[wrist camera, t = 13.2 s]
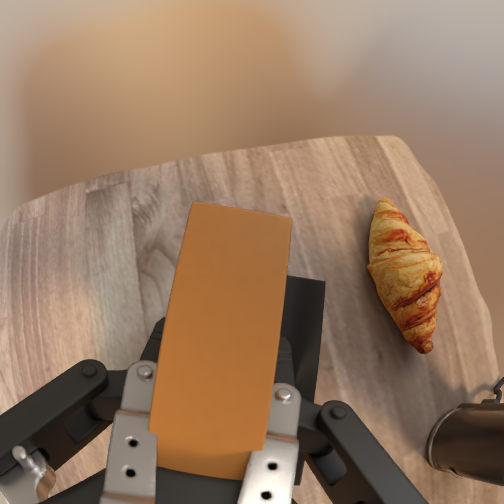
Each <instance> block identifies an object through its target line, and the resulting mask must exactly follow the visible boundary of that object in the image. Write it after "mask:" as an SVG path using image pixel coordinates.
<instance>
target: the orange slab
mask: <svg viewBox="0 0 504 504" xmlns="http://www.w3.org/2000/svg"><path fill="white" fill-rule="evenodd" d="M291 228H292V218H291V217H286V216H280V215H275V214H269V213H263V212H257V211H252V210H246V209H240V208H233V207H227V206H221V205H215V204H208V203H202V202H195V201H194V202H193V203H192V205H191V209H190V213H189V217H188V221H187V225H186V229H185V233H184V237H183V241H182V245H181V249H180V254H179V258H178V262H177V267H176V271H175V276H174V280H173V285H172V289H171V294H170V299H169V304H168V309H167V314H166V319H165V324H164V329H163V335H162V340H161V345H160V351H159V357H158V363H157V369H156V375H155V381H154V388H153V394H152V401H151V408H150V415H149V423H148V432H150V433H154V434H158V467H163V468H167V469H172V470H176V471H181V472H187V473H192V474H198V475H204V476H210V477H217V478H225V479H234V480H243V477H244V473H245V470H246V467H247V464H248V461H249V457H250V454H251V451H252V450H254V451H262V450H263V449H264V444H265V438H266V431H267V425H268V418H269V412H270V405H271V398H272V391H273V384H274V377H275V369H276V362H277V354H278V346H279V339H280V330H281V322H282V314H283V305H284V296H285V287H286V278H287V269H288V259H289V249H290V239H291Z"/></svg>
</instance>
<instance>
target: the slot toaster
mask: <svg viewBox="0 0 504 504" xmlns="http://www.w3.org/2000/svg"><path fill="white" fill-rule="evenodd" d="M324 297H325V281H321V280H314V279H308V278H301V277H295V276H289V275H287V278H286V287H285V296H284V305H283V314H282V322H281V330H280V337H285V338H286V339H287V341H288V342H289V344H290V345H291V353H292V354H291V355H292V362H293V371H294V381H295V388H296V389H297V390H298V391H299V393H300V395H301V397H302V398H304V399H305V400H307V401H309V402H312V403H314V397H315V389H316V381H317V372H318V363H319V354H320V344H321V334H322V323H323V310H324ZM304 461H305V459H304V458H303V456H302V454H301V452H300V451H298V459H297V466H296V473H295V479H294V485H300V483H301V478H302V472H303V467H304Z"/></svg>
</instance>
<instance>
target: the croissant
mask: <svg viewBox="0 0 504 504" xmlns="http://www.w3.org/2000/svg"><path fill="white" fill-rule="evenodd" d="M369 261H370V264H368V265H367V269H368V270H369V271H370V274H371V276H372V278H373V280H374V281H375V283H376V289H377V293H378V295H379V297H380V299H381V301H382V303H383V304H384V306H385V308H386V309H387V310H388V311H389V313H390V314H391V316H392V318H393V320H394V321H395V322H396V324H397V326H398V328H399V329H400V330H401V331H402V335H403V336H404V338H405V340H406V341H407V342H408V343H409V344H410V345H412V346H413V347H414V348H415V349H416V350H417V351H418V352H419V353H421V354H427V353H428V352H430V351H431V350H432V349H433V343H432V337H431V334H432V333H433V332H434V330H435V326H436V321H437V319H436V311H437V303H438V300H439V297H440V295H442V294H441V287H440V280H439V279H440V278H441V275H442V270H443V266H442V262H441V260H440V258H438V257H437V256H436V254H434V253H431V252H430V249H429V247H428V244H427V242H426V241H425V240H424V238H423V237H422V236H421V235H420V234H419V233H417V232H416V231H414V230H413V229H412V228H411V227H410V225H409V223H408V221H407V219H406V217H405V216H404V215H403V214H402V213H401V212H400V211H399V210H397V209H396V208H395V207H394V205H393V204H392V203H391V201H390V200H389V199H388V198H382V199H380V200H379V201H378V203H377V205H376V208H375V211H374V217H373V220H372V223H371V231H370V234H369Z"/></svg>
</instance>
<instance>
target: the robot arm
mask: <svg viewBox="0 0 504 504" xmlns="http://www.w3.org/2000/svg"><path fill="white" fill-rule="evenodd" d="M165 319H166V317H163V318H162V319H161V320H160V321H158V322H157V323H156V325H155V327H154V329H153V332H152V333H151V336H150V338H149V340H148V342H147V344H146V347H145V349H144V351H143V353H142V355H141V358H140V360H139V361H137V362H135V363H133V364H131V365H130V366H129V368H128V369H127V370H120V371H115V370H107V369H106V367H105V366H104V364H103V363H101V362H100V361H97V360H93V359H87V360H83V361H80V362H79V363H77V364H76V365H74V366H73V367H71V368H70V369H68V370H67V371H65V372H64V373H62V374H61V375H59V376H58V377H56V378H55V379H53V380H52V381H50V382H49V383H47V384H46V385H44V386H43V387H41V388H40V389H38V390H37V391H36V392H34V393H33V394H31V395H30V396H28V397H27V398H25V399H24V400H22V401H21V402H19V403H18V404H16V405H15V406H13V407H12V408H10V409H9V410H7V411H6V412H5V413H3V414H2V415H0V491H1V492H2V494H3V495H4V496H5V497H6V499H7V500H8V501H9V503H10V504H297V503H296V502H295V500H294V499H293V498H292V492H293V486H294V479H295V473H296V466H297V459H298V451H300V452H301V454H302V456H303V458H304V459H305V461H306V462H307V464H308V466H309V467H310V469H311V470H312V472H313V474H314V475H315V477H316V478H317V480H318V481H319V483H320V484H321V486H322V487H323V489H324V491H325V492H326V494H327V495H328V497H329V498H330V500H331V501H332V503H333V504H429V503H428V502H427V501H426V500H425V498H424V497H423V496H422V495H421V494H420V492H419V491H418V490H417V489H416V488H415V486H414V485H413V484H412V483H411V481H410V480H409V479H408V478H407V477H406V475H405V474H404V473H403V472H402V470H401V469H400V468H399V467H398V466H397V464H396V463H395V462H394V461H393V459H392V458H391V457H390V456H389V454H388V453H387V452H386V451H385V449H384V448H383V447H382V446H381V444H380V443H379V442H378V441H377V439H376V438H375V437H374V436H373V434H372V433H371V432H370V431H369V429H368V428H367V427H366V426H365V424H364V423H363V422H362V421H361V419H360V418H359V417H358V416H357V414H356V413H355V412H354V411H353V409H352V408H351V407H350V406H349V405H348V404H346V403H344V402H341V401H337V400H332V401H328V402H326V403H324V404H323V405H322V406H321V405H318V404H315V403H312V402H309V401H307V400H305V399H304V398H302V397H301V395H300V393H299V391H298V390H297V389H296V388H295V381H294V371H293V362H292V355H291V354H292V353H291V345H290V344H289V342H288V341H287V339H286V338H285V337H280V339H279V346H278V354H277V362H276V369H275V377H274V384H273V391H272V398H271V405H270V412H269V418H268V425H267V431H266V438H265V444H264V449H263V450H262V451H254V450H252V451H251V454H250V457H249V461H248V464H247V467H246V470H245V473H244V477H243V480H234V479H225V478H217V477H210V476H204V475H198V474H192V473H187V472H181V471H176V470H172V469H167V468H163V467H158V434H154V433H150V432H148V423H149V415H150V408H151V401H152V394H153V388H154V381H155V375H156V369H157V363H158V357H159V351H160V345H161V340H162V335H163V329H164V324H165ZM503 384H504V377H503V378H502V379H501V380H500V381H499V383H498V384H497V385H496V386H495V388H494V394H496V395H497V396H496V399H484V400H483V401H482V402H481V404H467V403H461V404H460V406H459V407H458V408H456V409H452V410H450V411H448V412H447V413H446V414H444V415H443V416H442V417H441V418H440V419H439V421H438V422H437V423H436V425H435V426H434V428H433V430H432V432H431V435H430V437H429V441H428V445H427V458H428V461H429V463H430V465H431V466H432V467H433V468H434V469H437V470H440V471H444V472H449V473H452V474H453V475H454V476H455V477H457V478H460V477H459V476H462V477H466V478H470V479H474V480H478V481H482V482H486V483H490V484H495V485H499V486H504V403H500V400H501V397H502V392H501V390H499V389H500V387H501V386H502V385H503ZM112 423H113V426H112V432H111V438H110V444H109V450H108V457H107V464H106V468H105V469H103V470H101V471H99V472H97V473H96V474H94V475H92V476H90V477H89V478H87V479H85V480H83V481H81V482H79V483H77V484H76V485H74V486H72V487H70V488H68V489H66V490H64V491H62V492H60V493H58V494H56V495H54V496H52V497H50V498H48V494H49V492H50V490H51V489H52V488H53V486H54V485H55V482H56V475H55V471H56V470H57V469H58V468H60V467H61V466H62V465H63V464H64V463H66V462H67V461H68V460H69V459H70V458H72V457H73V456H74V455H75V454H76V453H78V452H79V451H80V450H81V449H82V448H84V447H85V446H86V445H87V444H88V443H89V442H91V441H92V440H93V439H94V438H95V437H97V436H98V435H99V434H100V433H101V432H102V431H104V430H105V429H106V428H107V427H108V426H109V425H110V424H112ZM458 475H459V476H458Z"/></svg>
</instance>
